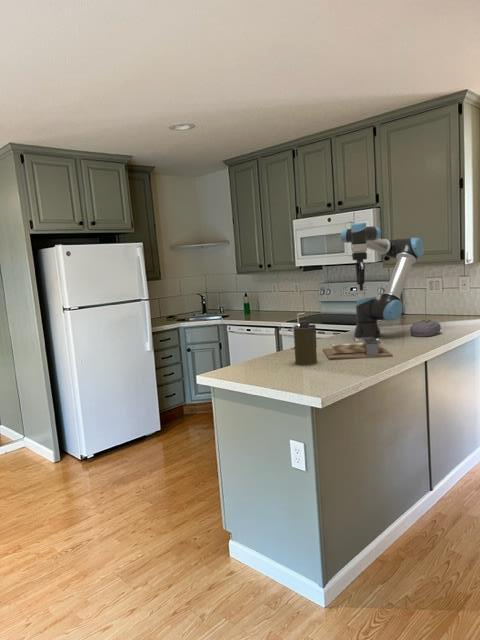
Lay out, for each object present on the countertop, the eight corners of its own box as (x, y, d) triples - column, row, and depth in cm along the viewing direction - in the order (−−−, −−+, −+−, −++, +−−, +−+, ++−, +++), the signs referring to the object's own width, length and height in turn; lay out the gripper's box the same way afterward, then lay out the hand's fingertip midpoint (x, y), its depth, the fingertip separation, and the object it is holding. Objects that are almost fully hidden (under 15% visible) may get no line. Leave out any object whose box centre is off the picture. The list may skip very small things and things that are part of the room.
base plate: (322, 350, 253) (322, 348, 253) (380, 347, 252) (380, 345, 252) (329, 360, 229) (329, 358, 229) (392, 356, 228) (392, 354, 228)
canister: (303, 366, 220) (301, 323, 217) (290, 362, 229) (288, 321, 227) (322, 362, 225) (320, 320, 222) (309, 359, 234) (307, 318, 232)
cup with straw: (303, 345, 270) (301, 310, 268) (310, 348, 262) (308, 311, 259) (289, 347, 268) (287, 312, 265) (296, 350, 259) (294, 313, 257)
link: (382, 349, 238) (381, 341, 238) (384, 351, 233) (383, 343, 233) (332, 352, 240) (331, 344, 240) (333, 354, 235) (332, 346, 235)
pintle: (374, 341, 237) (374, 338, 237) (379, 341, 237) (379, 338, 236) (375, 342, 234) (375, 339, 234) (381, 342, 234) (381, 339, 234)
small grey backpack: (419, 331, 292) (405, 336, 278) (419, 317, 291) (404, 322, 277) (444, 332, 282) (431, 338, 268) (444, 318, 281) (430, 323, 266)
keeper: (361, 351, 240) (361, 337, 239) (372, 350, 240) (372, 336, 239) (366, 355, 229) (366, 341, 228) (378, 355, 229) (378, 340, 228)
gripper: (350, 252, 262) (351, 295, 265) (354, 252, 249) (356, 297, 252) (364, 251, 262) (365, 295, 265) (369, 251, 249) (370, 297, 252)
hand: (361, 296), depth 259 cm, fingers closed
